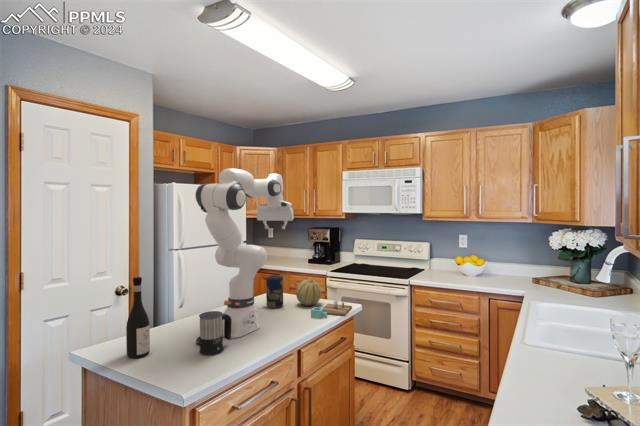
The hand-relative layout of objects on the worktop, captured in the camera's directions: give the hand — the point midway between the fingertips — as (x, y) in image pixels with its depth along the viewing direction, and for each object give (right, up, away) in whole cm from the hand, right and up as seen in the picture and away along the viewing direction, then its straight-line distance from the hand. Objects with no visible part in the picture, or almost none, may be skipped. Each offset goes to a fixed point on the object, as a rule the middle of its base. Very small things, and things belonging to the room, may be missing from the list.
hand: (275, 229), depth 202 cm
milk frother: (-21, -46, -52) cm, 73 cm away
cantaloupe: (+18, -44, +11) cm, 49 cm away
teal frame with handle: (+24, -45, -12) cm, 52 cm away
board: (+33, -44, -1) cm, 55 cm away
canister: (-1, -44, +8) cm, 45 cm away
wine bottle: (-46, -46, -59) cm, 88 cm away
